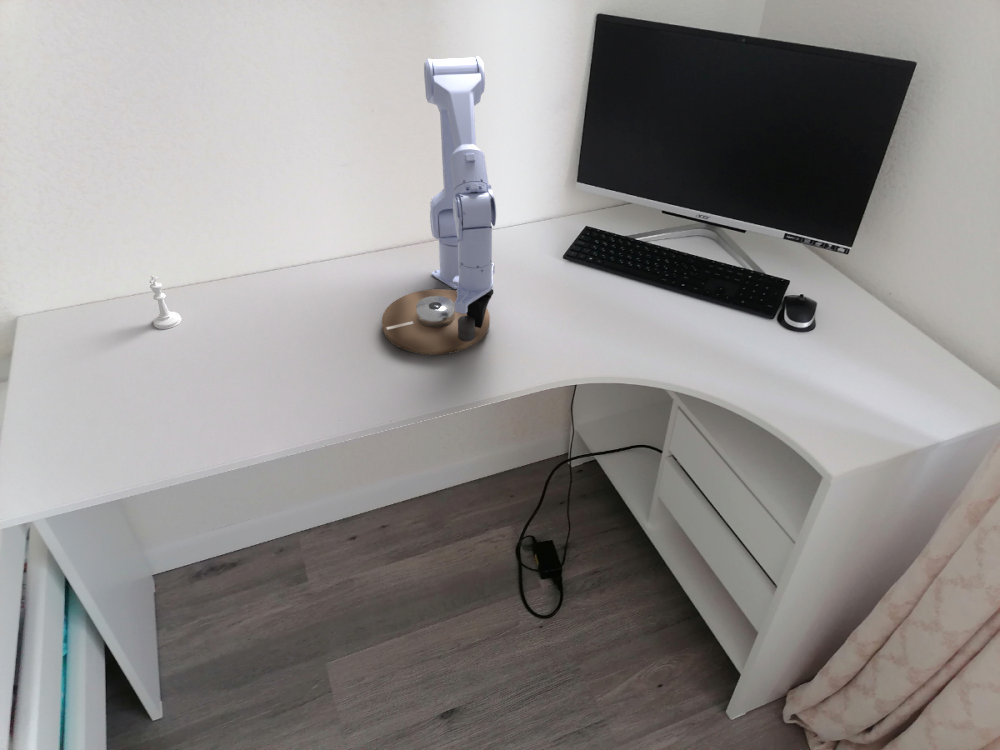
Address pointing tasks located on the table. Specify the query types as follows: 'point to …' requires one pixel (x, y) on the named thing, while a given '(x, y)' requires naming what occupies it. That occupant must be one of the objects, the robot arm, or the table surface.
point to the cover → (435, 311)
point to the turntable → (425, 340)
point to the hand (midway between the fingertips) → (475, 326)
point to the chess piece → (163, 308)
